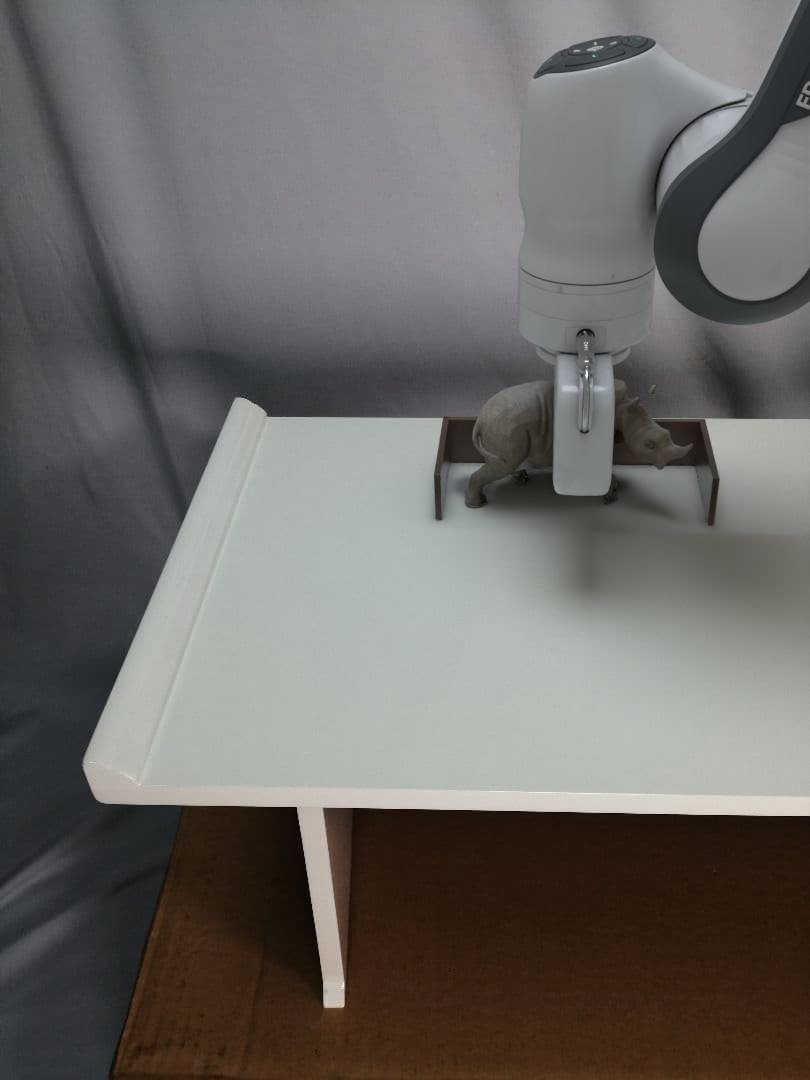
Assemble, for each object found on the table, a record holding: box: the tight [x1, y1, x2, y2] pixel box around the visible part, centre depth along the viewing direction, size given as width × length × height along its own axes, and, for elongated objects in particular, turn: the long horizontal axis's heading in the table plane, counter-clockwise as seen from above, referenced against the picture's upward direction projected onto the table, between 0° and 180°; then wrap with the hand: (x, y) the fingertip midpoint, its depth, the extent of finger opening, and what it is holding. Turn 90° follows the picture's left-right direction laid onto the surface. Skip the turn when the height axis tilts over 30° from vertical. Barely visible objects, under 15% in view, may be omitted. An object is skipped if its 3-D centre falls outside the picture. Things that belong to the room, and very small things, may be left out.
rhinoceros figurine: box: [464, 378, 693, 508], centre depth 91 cm, size 8×14×15 cm
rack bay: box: [433, 416, 720, 525], centre depth 92 cm, size 21×10×4 cm, turn 84°
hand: (577, 484), depth 85 cm, fingers closed
